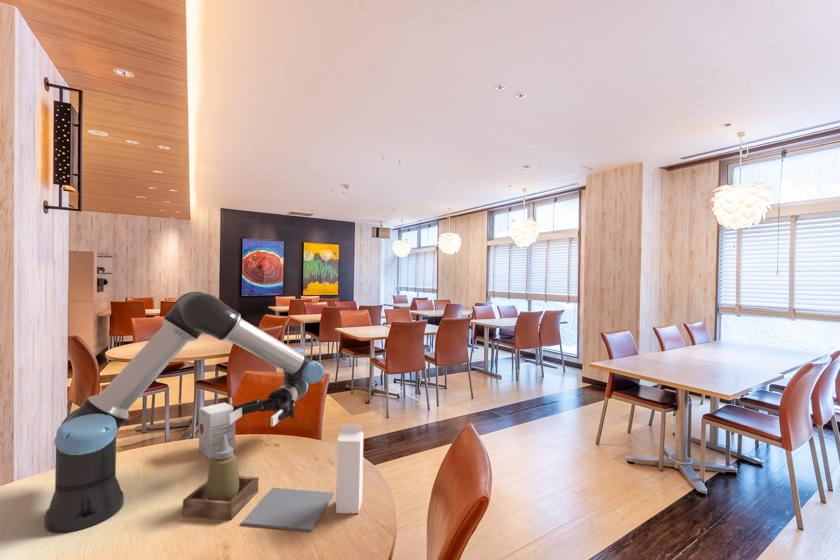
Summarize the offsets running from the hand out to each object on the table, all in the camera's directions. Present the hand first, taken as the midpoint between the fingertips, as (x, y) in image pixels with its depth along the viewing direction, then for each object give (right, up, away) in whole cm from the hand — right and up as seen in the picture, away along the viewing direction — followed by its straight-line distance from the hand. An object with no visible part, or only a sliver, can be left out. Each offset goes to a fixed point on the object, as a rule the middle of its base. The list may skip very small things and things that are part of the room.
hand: (250, 420), depth 116 cm
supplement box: (-20, -17, +19) cm, 33 cm away
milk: (+32, -19, -13) cm, 39 cm away
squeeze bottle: (-2, -18, -12) cm, 22 cm away
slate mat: (+17, -18, -14) cm, 28 cm away
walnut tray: (-2, -18, -12) cm, 22 cm away
